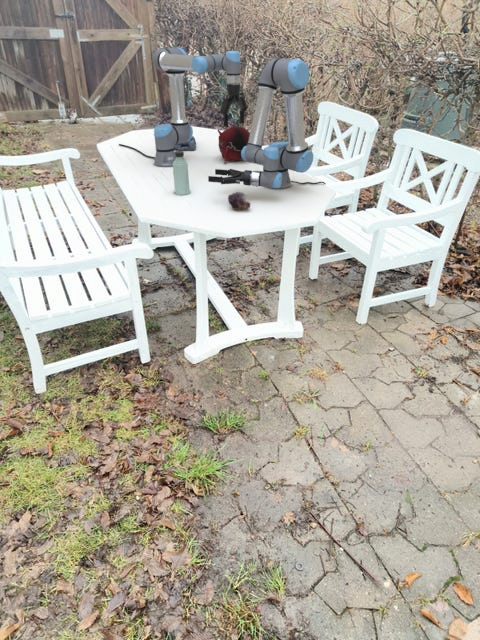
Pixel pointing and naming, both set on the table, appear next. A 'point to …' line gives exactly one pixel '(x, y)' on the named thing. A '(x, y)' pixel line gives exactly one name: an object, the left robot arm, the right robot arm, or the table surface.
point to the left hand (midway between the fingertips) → (234, 125)
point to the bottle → (181, 176)
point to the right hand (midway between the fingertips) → (211, 175)
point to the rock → (238, 201)
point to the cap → (179, 154)
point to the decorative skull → (233, 142)
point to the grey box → (186, 145)
